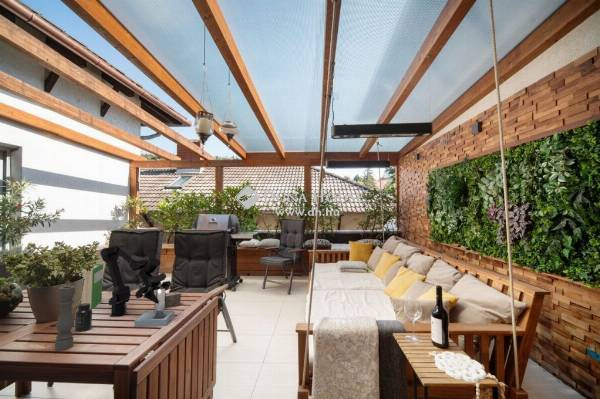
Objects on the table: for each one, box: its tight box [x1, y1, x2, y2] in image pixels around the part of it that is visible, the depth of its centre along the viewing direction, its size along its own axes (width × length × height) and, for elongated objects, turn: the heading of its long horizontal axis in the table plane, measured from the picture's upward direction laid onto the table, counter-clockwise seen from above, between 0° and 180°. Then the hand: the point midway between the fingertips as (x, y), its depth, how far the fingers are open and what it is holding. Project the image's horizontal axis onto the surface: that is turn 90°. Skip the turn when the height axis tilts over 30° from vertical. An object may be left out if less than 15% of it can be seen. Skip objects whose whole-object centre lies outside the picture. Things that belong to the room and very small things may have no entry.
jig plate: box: [134, 310, 175, 328], centre depth 158 cm, size 15×15×3 cm
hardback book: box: [79, 263, 104, 310], centre depth 185 cm, size 18×7×24 cm, turn 20°
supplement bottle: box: [73, 303, 93, 333], centre depth 146 cm, size 7×7×12 cm
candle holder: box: [54, 285, 76, 352], centre depth 126 cm, size 6×6×25 cm
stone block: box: [164, 291, 182, 309], centre depth 183 cm, size 14×9×8 cm, turn 129°
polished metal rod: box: [154, 288, 166, 316], centre depth 156 cm, size 4×4×13 cm
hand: (162, 301), depth 155 cm, fingers closed on polished metal rod, 4 cm apart
